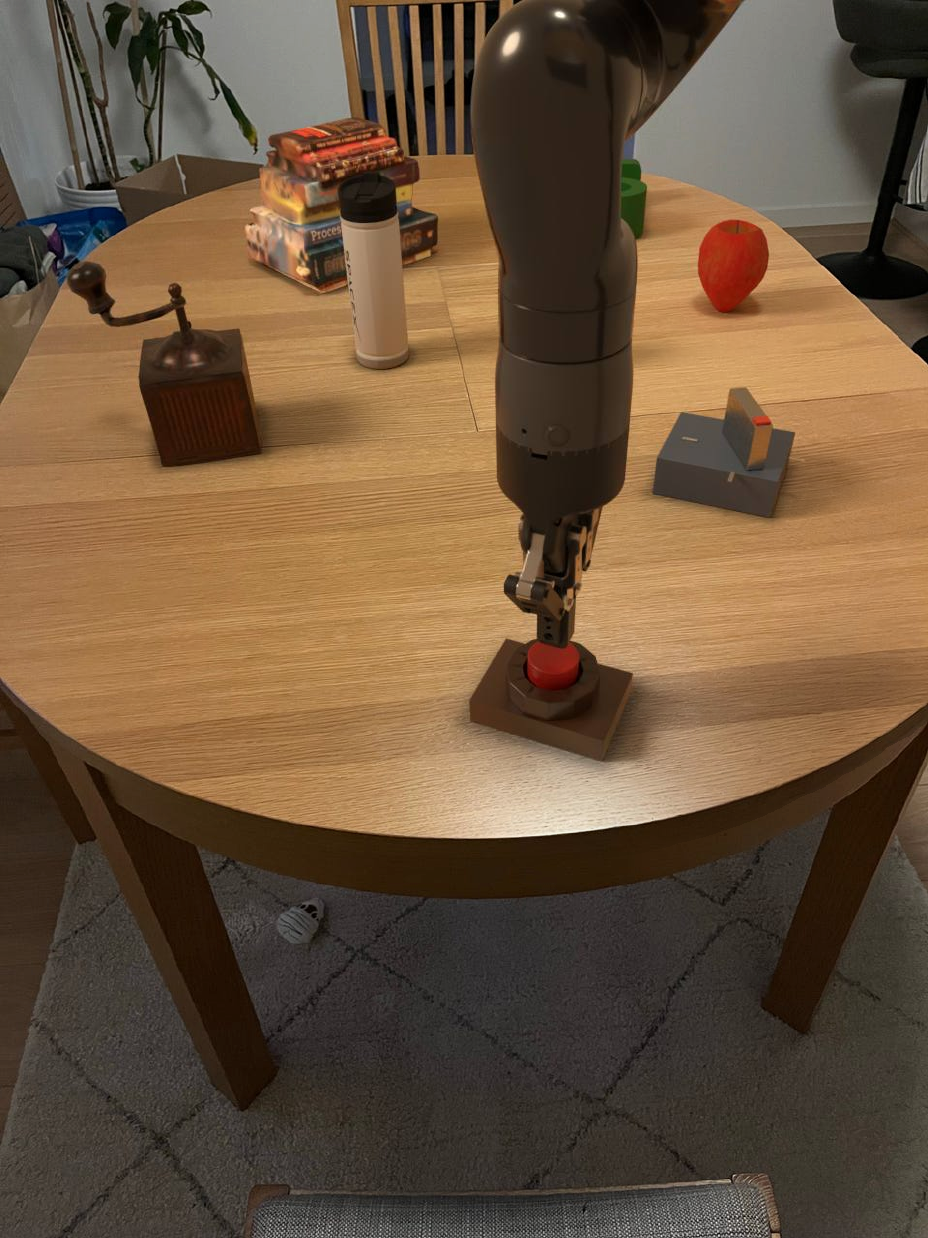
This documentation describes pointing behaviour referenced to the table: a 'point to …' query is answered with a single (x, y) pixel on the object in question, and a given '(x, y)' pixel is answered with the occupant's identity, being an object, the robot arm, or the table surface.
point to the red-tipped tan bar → (747, 428)
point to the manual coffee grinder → (185, 379)
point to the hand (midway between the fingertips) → (555, 639)
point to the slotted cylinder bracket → (633, 196)
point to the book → (329, 200)
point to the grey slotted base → (719, 467)
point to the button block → (552, 702)
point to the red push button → (552, 666)
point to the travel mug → (374, 269)
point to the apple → (732, 262)
